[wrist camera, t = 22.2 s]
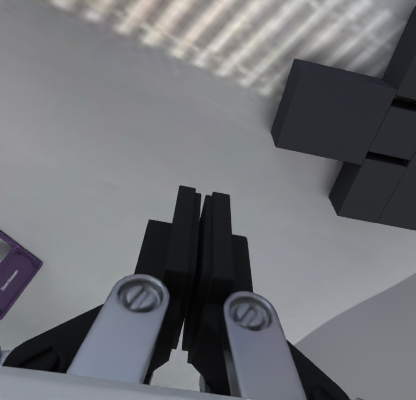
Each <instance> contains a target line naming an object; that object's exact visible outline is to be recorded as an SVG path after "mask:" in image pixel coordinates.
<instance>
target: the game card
mask: <svg viewBox="0 0 416 400" xmlns="http://www.w3.org/2000/svg"><path fill="white" fill-rule="evenodd" d="M0 238H1V239H2V240H4V241H5V242H6V243H8V244H9V245H10V246H12V247H13V249H12V250H11V251H10V252H9V254H8V255H7V256H6V257H5V258H4V260H3V261H2V262H1V263H0V320H2V319H3V317H4V316H5V315H6V313H7V312H8V311H9V309H10V308H11V307H12V305H13V304H14V303H15V301H16V300H17V299H18V297H19V296H20V295H21V293H22V292H23V291H24V289H25V288H26V287H27V285H28V284H29V283H30V281H31V280H32V278H33V277H34V276H35V274H36V273H37V272H38V270H39V269H40V268H41V266H42V262H40V261H39V260H38V259H37V258H35V257H34V256H33V255H31V254H30V253H29V252H27V251H26V250H25V249H23V248H22V247H21V246H19V245H18V244H17V243H15V242H14V241H13V240H11V239H10V238H9V237H7V236H6V235H5V234H3V233H2V232H1V231H0Z"/></svg>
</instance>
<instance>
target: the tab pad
mask: <svg viewBox="0 0 416 400" xmlns="http://www.w3.org/2000/svg"><path fill="white" fill-rule="evenodd" d="M396 92H397V89H396V88H394V87H393V86H391V85H390V84H388V83H387V82H385V81H384V80H382V79H380V78H375V77H371V76H367V75H362V74H358V73H354V72H350V71H345V70H341V69H337V68H332V67H328V66H324V65H320V64H315V63H311V62H307V61H302V60H298V59H294V62H293V65H292V68H291V71H290V74H289V77H288V81H287V84H286V87H285V90H284V93H283V96H282V99H281V102H280V105H279V108H278V112H277V115H276V118H275V121H274V124H273V127H272V130H271V134H272V137H273V140H274V143H275V146H276V147H278V148H283V149H287V150H292V151H297V152H302V153H307V154H311V155H316V156H321V157H326V158H331V159H335V160H340V161H345V162H350V163H355V164H359V165H361V164H362V163H363V160H364V158H365V156H366V154H367V152H368V151H369V152H374V153H379V154H384V155H388V156H393V157H398V158H402V159H407V160H411V158H412V157H413V155H414V153H415V151H416V104H415V103H410V102H406V101H402V100H397V99H394V96H395V94H396Z"/></svg>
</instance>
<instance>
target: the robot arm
mask: <svg viewBox="0 0 416 400" xmlns="http://www.w3.org/2000/svg"><path fill="white" fill-rule="evenodd" d="M195 191H196V188H191V187H186V186H181V185H180V186H179V191H178V196H177V201H176V206H175V211H174V217H173V222H172V223H167V222H161V221H155V220H150V219H149V221H148V225H147V228H146V232H145V236H144V240H143V243H142V247H141V251H140V254H139V258H138V262H137V265H136V269H135V273H134V274H133V275H129V276H126V277H124V278H122V279H121V280H119V281H118V282H117V283H116V284H115V286H114V287H113V289H112V290H111V292H110V294H109V296H108V298H107V299H106V301H105V303H104V304H102V305H100V306H98V307H96V308H94V309H92V310H90V311H88V312H85V313H83V314H81V315H79V316H77V317H75V318H73V319H71V320H69V321H67V322H65V323H63V324H61V325H59V326H56V327H54V328H52V329H50V330H48V331H46V332H44V333H42V334H40V335H38V336H36V337H34V338H32V339H30V340H27V341H25V342H24V343H22V344H21V345H19V346H17V347H16V348H15V349H14V350H6V351H1V346H0V400H350V399H349V397H348V396H347V394H346V393H345V392H344V391H343V390H342V389H341V388H340V387H339V386H338V385H337V384H336V383H335V382H333V381H332V380H331V379H330V378H329V377H328V376H327V375H326V374H325V373H323V372H322V371H321V370H320V369H319V368H318V367H317V366H315V365H314V364H313V363H312V362H311V361H310V360H309V359H308V358H307V357H305V356H304V355H303V354H302V353H301V352H300V351H299V350H298V349H297V348H295V347H294V346H293V345H292V344H291V343H290V342H289V341H288V340H286V338H285V335H284V332H283V329H282V326H281V323H280V320H279V318H278V315H277V312H276V310H275V309H274V307H273V306H272V304H271V303H270V302H269V301H268V300H266V299H265V298H263V297H262V296H260V295H258V294H255V293H253V287H252V278H251V269H250V260H249V251H248V242H247V238H246V237H244V236H239V235H233V234H232V228H231V210H230V195H228V194H223V193H218V192H213V193H212V196H210V195H206V197H205V200H204V205H203V209H202V213H201V217H200V206H201V194H200V193H195ZM199 220H200V221H199ZM184 318H185V319H184ZM183 322H184V330H183V340H182V350H183V351H188V361H187V363H190V364H192V365H193V366H194V367H195V368H196V370H197V371H198V372H199V373H200V374H201V375H200V381H199V385H200V392H196V391H188V390H181V389H174V388H167V387H159V386H152V385H150V383H151V380H152V377H153V372H154V370H156V369H157V368H159V367H160V366H162V365H163V364H164V363H166V362H167V361H169V357H170V353H171V349H177V345H178V341H179V337H180V333H181V329H182V326H183ZM356 400H363V399H360V398H357V399H356Z"/></svg>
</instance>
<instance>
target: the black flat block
mask: <svg viewBox="0 0 416 400" xmlns="http://www.w3.org/2000/svg"><path fill="white" fill-rule="evenodd" d="M382 80H384V81H385V82H387V83H388V84H390V85H391V86H393V87H394V88H396V89H397V92H396V94H395V95H397V96H401V97H405V98H410V99H414V100H416V6H415V8H414V10H413V12H412V14H411V17H410V19H409V21H408V23H407V25H406V28H405V30H404V32H403V34H402V36H401V39H400V41H399V43H398V45H397V48H396V50H395V52H394V54H393V56H392V59H391V61H390V63H389V65H388V67H387V70H386V72H385V74H384V76H383V79H382ZM329 199H330V201H331V203H332V205H333V207H334V209H335V211H336V213H337V215H338V216H342V217H347V218H352V219H357V220H363V221H368V222H373V223H379V224H385V225H390V226H395V227H400V228H406V229H411V230H416V151H415V153H414V155H413V157H412V158H411V160H407V159H402V158H398V157H393V156H388V155H384V154H379V153H374V152H369V151H368V152H367V154H366V156H365V158H364V160H363V163H362V164H361V165H359V164H355V163H350V162H344V165H343V167H342V169H341V171H340V174H339V176H338V178H337V180H336V182H335V185H334V187H333V189H332V191H331V193H330V196H329Z"/></svg>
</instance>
